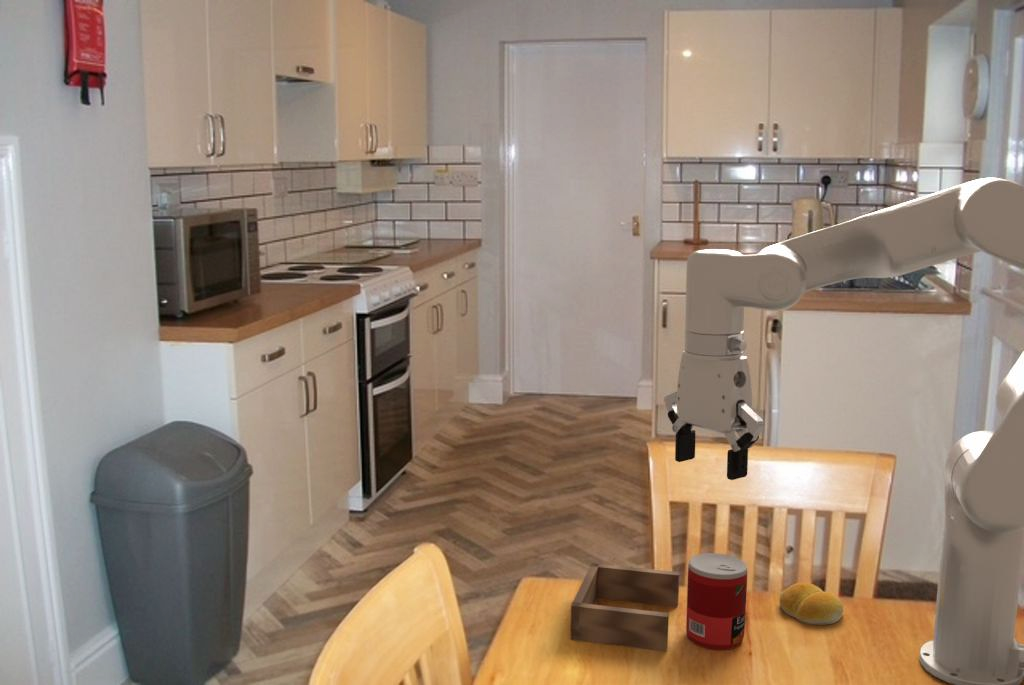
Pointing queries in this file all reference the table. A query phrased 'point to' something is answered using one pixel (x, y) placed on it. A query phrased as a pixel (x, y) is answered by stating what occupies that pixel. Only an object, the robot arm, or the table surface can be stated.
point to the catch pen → (624, 622)
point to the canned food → (716, 601)
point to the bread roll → (811, 604)
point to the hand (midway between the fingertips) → (710, 468)
